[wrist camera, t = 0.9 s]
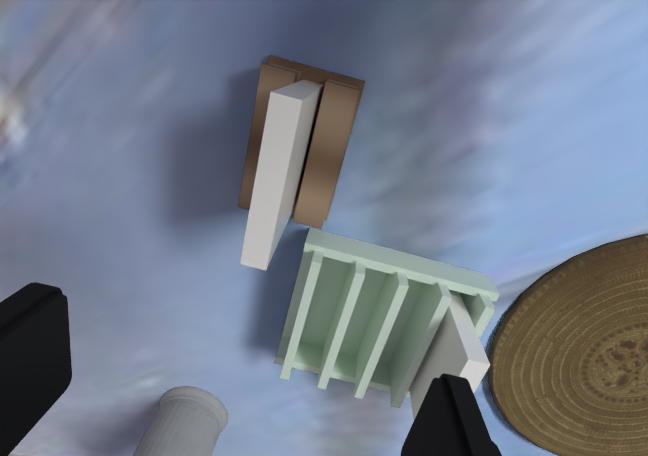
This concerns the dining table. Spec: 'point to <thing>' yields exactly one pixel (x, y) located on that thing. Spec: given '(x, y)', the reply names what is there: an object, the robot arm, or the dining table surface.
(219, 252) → the dining table surface
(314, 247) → the rack
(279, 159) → the tall white panel
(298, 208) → the stand
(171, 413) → the grey black mug
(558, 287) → the decorative disc
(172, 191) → the dining table surface
